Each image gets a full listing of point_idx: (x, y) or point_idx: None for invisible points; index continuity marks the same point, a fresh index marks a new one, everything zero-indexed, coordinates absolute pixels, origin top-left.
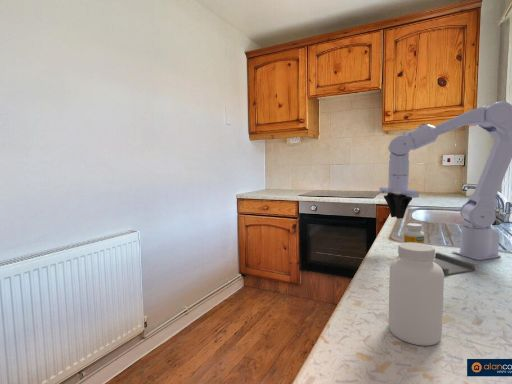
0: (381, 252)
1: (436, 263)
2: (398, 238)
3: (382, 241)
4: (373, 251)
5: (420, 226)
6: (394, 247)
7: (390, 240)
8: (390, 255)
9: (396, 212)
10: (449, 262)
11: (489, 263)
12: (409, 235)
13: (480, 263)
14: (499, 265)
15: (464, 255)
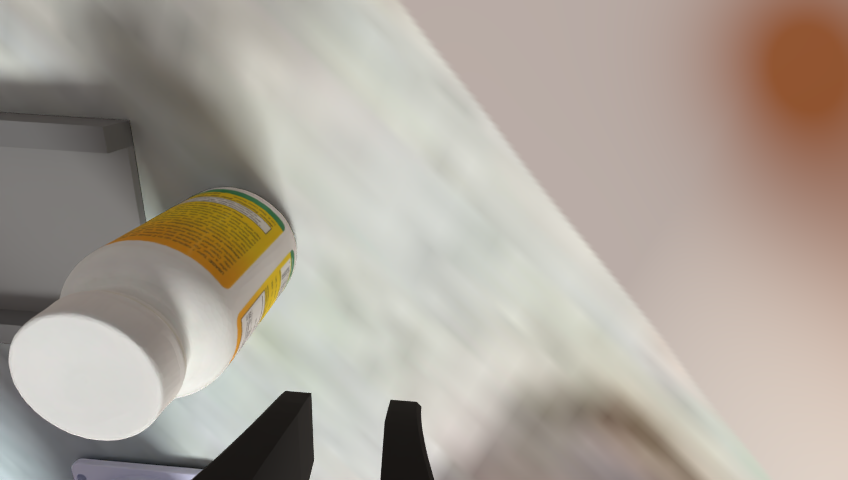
0: (376, 93)
1: (41, 223)
2: (600, 464)
3: (605, 320)
4: (424, 50)
5: (17, 377)
6: (440, 279)
7: (592, 386)
8: (290, 100)
9: (265, 439)
10: (48, 303)
11: (38, 463)
12: (109, 245)
13: (43, 432)
14: (7, 472)
15: (145, 466)
